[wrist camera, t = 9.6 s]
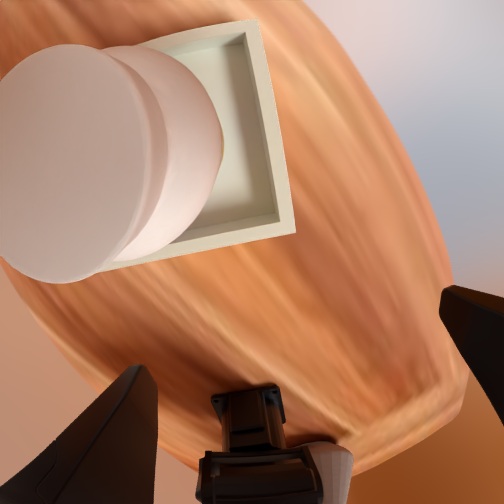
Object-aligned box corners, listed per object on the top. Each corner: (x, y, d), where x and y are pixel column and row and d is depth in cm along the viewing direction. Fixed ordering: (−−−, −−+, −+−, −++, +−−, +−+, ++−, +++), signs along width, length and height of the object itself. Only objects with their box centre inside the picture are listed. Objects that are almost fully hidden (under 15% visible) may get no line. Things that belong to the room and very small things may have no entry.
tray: (287, 220, 19) (296, 232, 16) (109, 257, 18) (96, 273, 16) (253, 33, 14) (257, 18, 11) (68, 87, 14) (50, 83, 11)
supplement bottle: (104, 178, 16) (-57, 253, 4) (144, 80, 14) (4, -2, 2) (198, 217, 17) (143, 371, 5) (244, 118, 15) (287, 48, 3)
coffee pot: (250, 454, 30) (261, 554, 16) (334, 423, 28) (369, 528, 14) (308, 487, 37) (323, 551, 24) (368, 464, 36) (391, 529, 22)
